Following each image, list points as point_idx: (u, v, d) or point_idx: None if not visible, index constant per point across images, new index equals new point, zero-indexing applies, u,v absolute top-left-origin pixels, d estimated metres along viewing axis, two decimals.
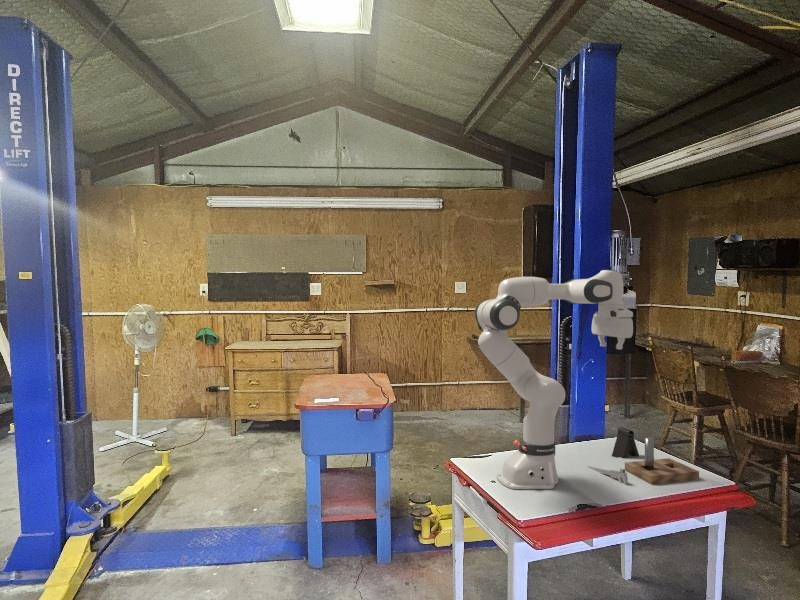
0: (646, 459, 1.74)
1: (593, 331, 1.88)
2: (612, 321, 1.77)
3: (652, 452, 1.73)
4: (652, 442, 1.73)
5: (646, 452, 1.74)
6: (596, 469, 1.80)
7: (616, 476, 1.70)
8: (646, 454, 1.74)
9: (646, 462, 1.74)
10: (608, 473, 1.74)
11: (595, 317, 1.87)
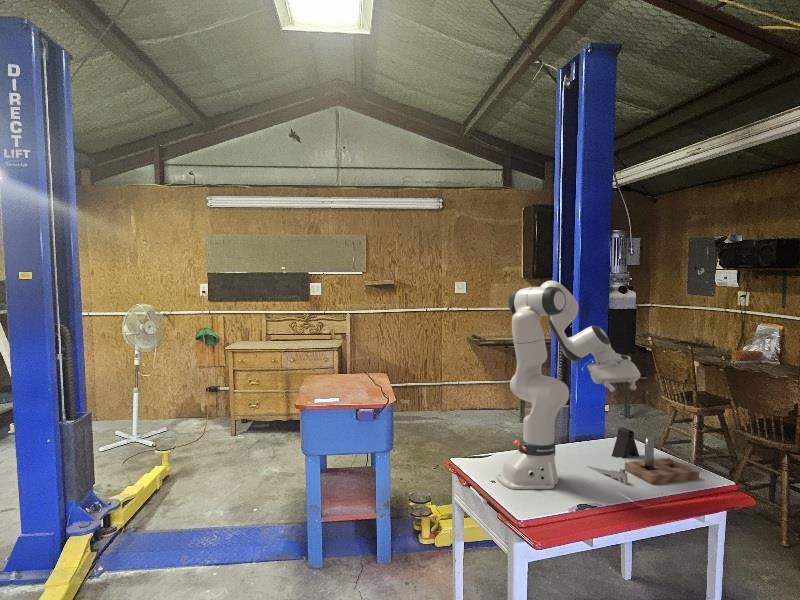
0: (646, 459, 1.74)
1: (600, 376, 1.89)
2: (621, 365, 1.94)
3: (652, 452, 1.73)
4: (652, 442, 1.73)
5: (646, 452, 1.74)
6: (596, 469, 1.80)
7: (616, 476, 1.70)
8: (646, 454, 1.74)
9: (646, 462, 1.74)
10: (608, 473, 1.74)
11: (596, 365, 1.93)
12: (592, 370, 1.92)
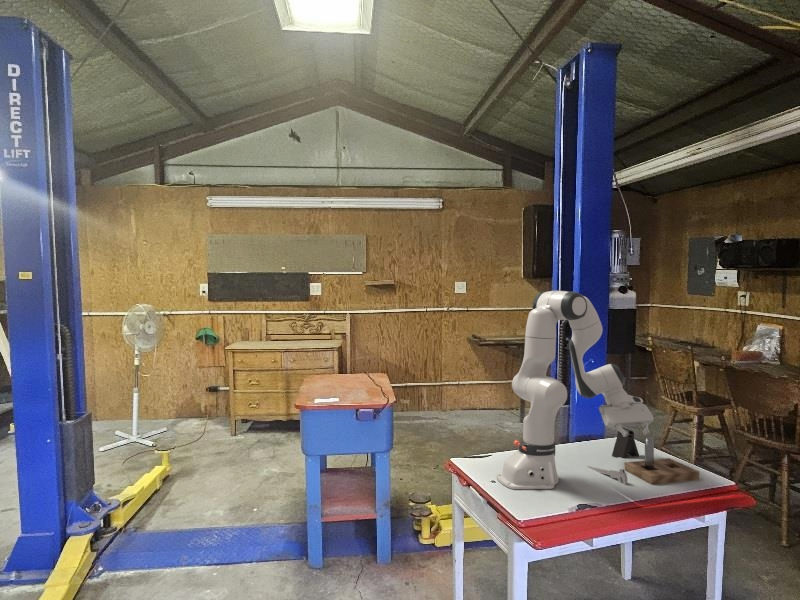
0: (646, 459, 1.74)
1: (612, 420, 1.82)
2: (633, 408, 1.87)
3: (652, 452, 1.73)
4: (652, 442, 1.73)
5: (646, 452, 1.74)
6: (596, 469, 1.80)
7: (616, 476, 1.70)
8: (646, 454, 1.74)
9: (646, 462, 1.74)
10: (608, 473, 1.74)
11: (608, 407, 1.86)
12: (604, 413, 1.85)
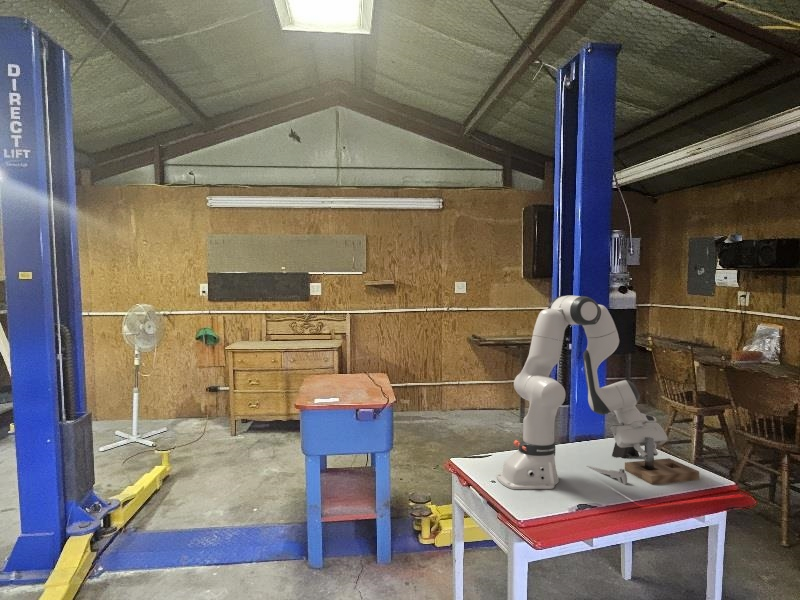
0: (646, 459, 1.74)
1: (625, 440, 1.75)
2: (647, 427, 1.80)
3: (652, 452, 1.73)
4: (652, 442, 1.73)
5: None
6: (596, 469, 1.80)
7: (616, 476, 1.70)
8: None
9: (646, 462, 1.74)
10: (608, 473, 1.74)
11: (621, 426, 1.79)
12: (616, 432, 1.78)
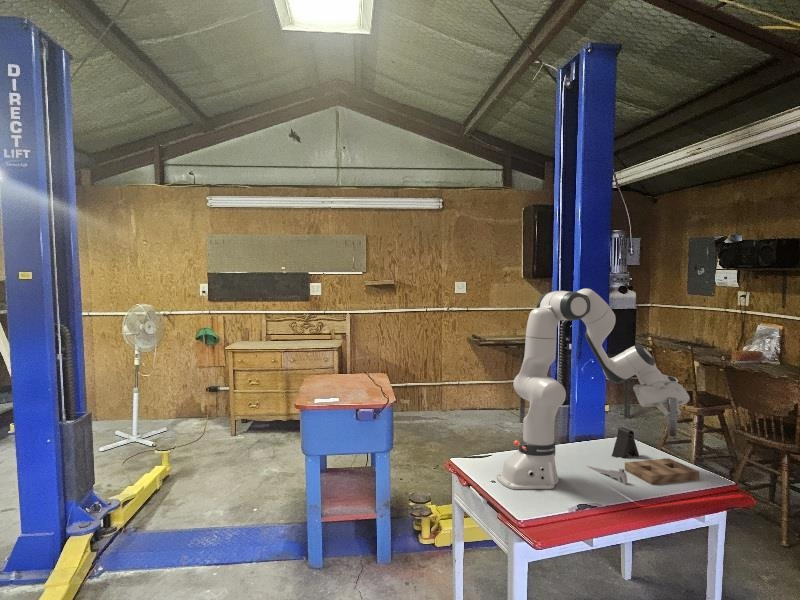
0: (669, 418, 1.76)
1: (648, 399, 1.77)
2: (669, 387, 1.82)
3: (675, 411, 1.75)
4: (675, 401, 1.75)
5: None
6: (595, 469, 1.80)
7: (616, 476, 1.70)
8: None
9: (669, 421, 1.76)
10: (607, 473, 1.74)
11: (643, 387, 1.81)
12: (639, 392, 1.79)
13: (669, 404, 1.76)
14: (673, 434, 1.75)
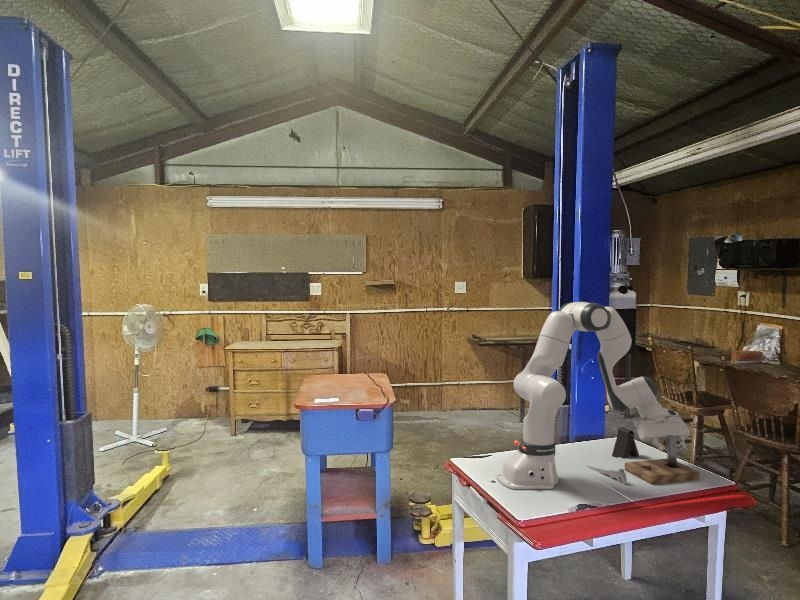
0: (669, 457, 1.76)
1: (648, 434, 1.77)
2: (669, 421, 1.82)
3: (675, 450, 1.75)
4: (675, 440, 1.75)
5: (669, 450, 1.76)
6: (595, 469, 1.80)
7: (615, 476, 1.70)
8: (669, 452, 1.76)
9: (669, 460, 1.76)
10: (607, 473, 1.74)
11: (643, 421, 1.81)
12: (639, 427, 1.80)
13: (669, 442, 1.76)
14: None
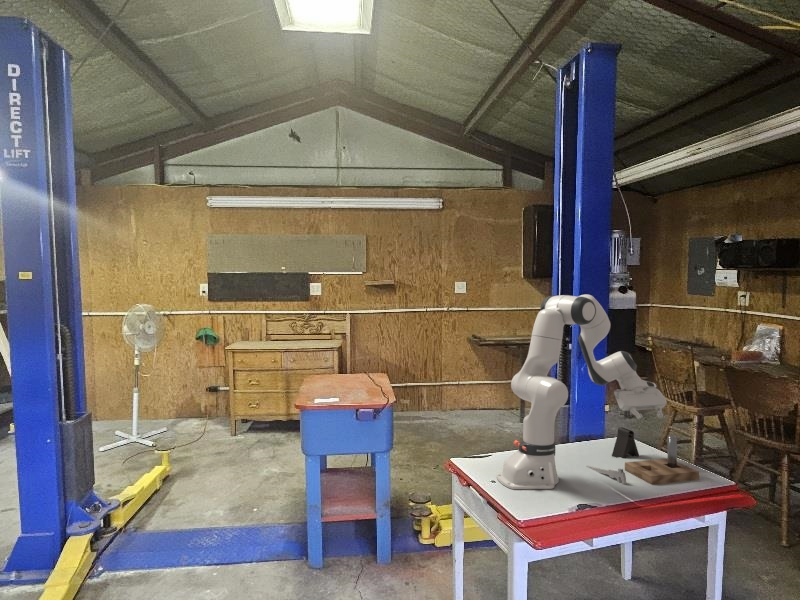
0: (669, 457, 1.76)
1: (627, 403, 1.88)
2: (647, 392, 1.93)
3: (675, 450, 1.75)
4: (675, 440, 1.75)
5: (669, 450, 1.76)
6: (595, 469, 1.80)
7: (615, 476, 1.70)
8: (669, 452, 1.76)
9: (669, 460, 1.76)
10: (607, 473, 1.74)
11: (623, 391, 1.92)
12: (619, 397, 1.91)
13: (669, 442, 1.76)
14: None
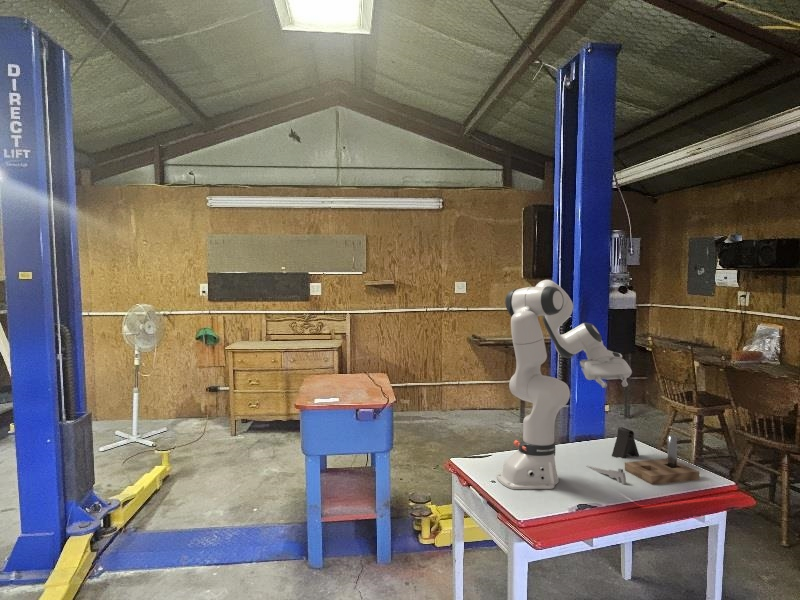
0: (669, 457, 1.76)
1: (592, 372, 1.91)
2: (613, 362, 1.96)
3: (675, 450, 1.75)
4: (675, 440, 1.75)
5: (669, 450, 1.76)
6: (595, 469, 1.80)
7: (614, 476, 1.70)
8: (669, 452, 1.76)
9: (669, 460, 1.76)
10: (607, 473, 1.74)
11: (589, 361, 1.95)
12: (584, 366, 1.94)
13: (669, 442, 1.76)
14: None
